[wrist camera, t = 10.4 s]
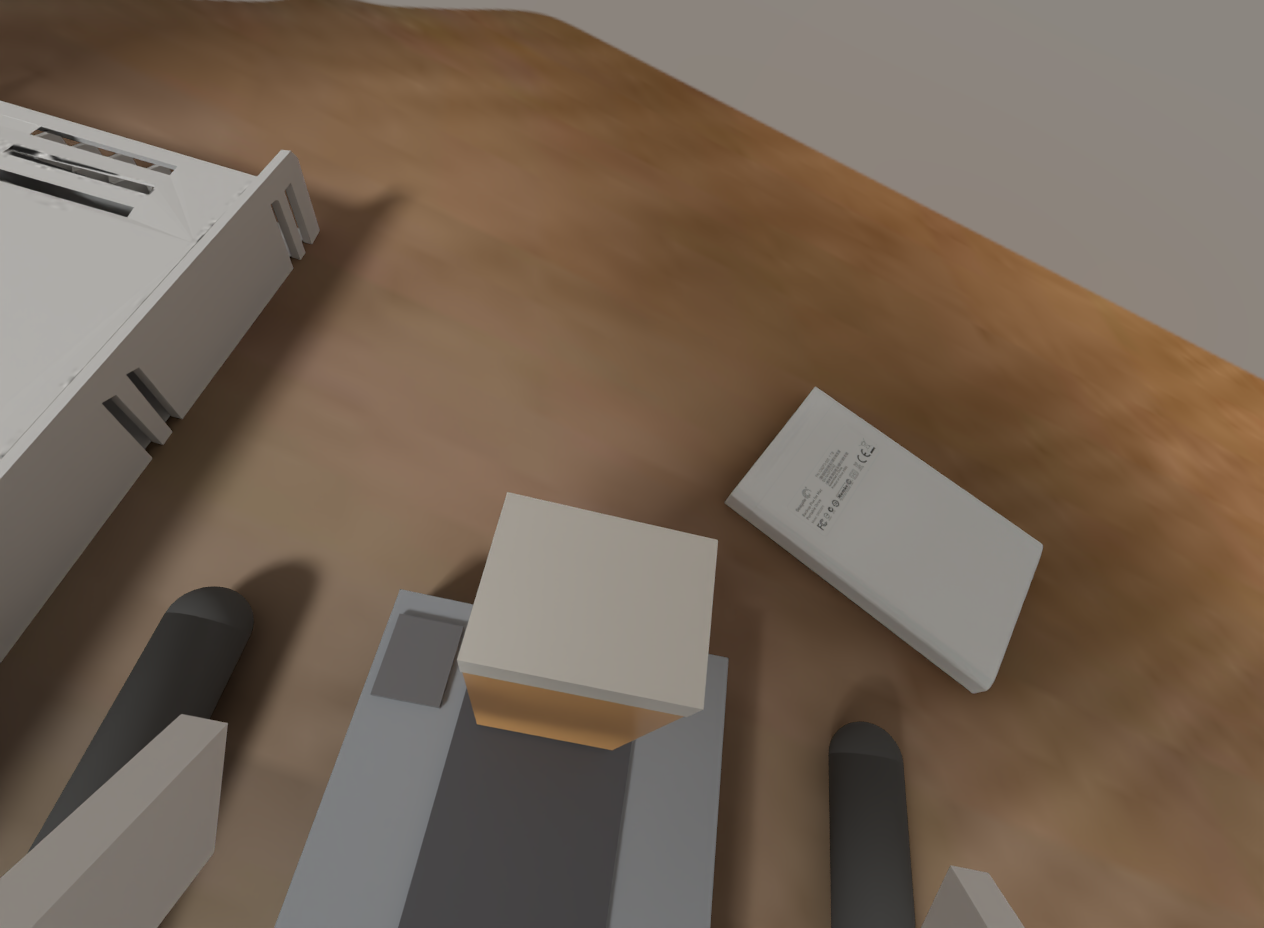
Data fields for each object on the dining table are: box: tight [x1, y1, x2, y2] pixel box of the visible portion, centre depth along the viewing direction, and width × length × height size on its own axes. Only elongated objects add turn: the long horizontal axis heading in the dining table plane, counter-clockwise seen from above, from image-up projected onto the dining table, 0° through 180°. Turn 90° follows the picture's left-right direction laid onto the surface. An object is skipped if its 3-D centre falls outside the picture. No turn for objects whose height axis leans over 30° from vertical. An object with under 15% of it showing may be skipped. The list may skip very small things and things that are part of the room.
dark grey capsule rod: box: [829, 722, 916, 928], centre depth 18 cm, size 10×2×2 cm, turn 171°
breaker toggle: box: [457, 492, 718, 750], centre depth 14 cm, size 3×4×9 cm
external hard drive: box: [725, 387, 1043, 693], centre depth 27 cm, size 2×8×12 cm
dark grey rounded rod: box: [27, 587, 254, 854], centre depth 15 cm, size 16×2×2 cm, turn 171°
